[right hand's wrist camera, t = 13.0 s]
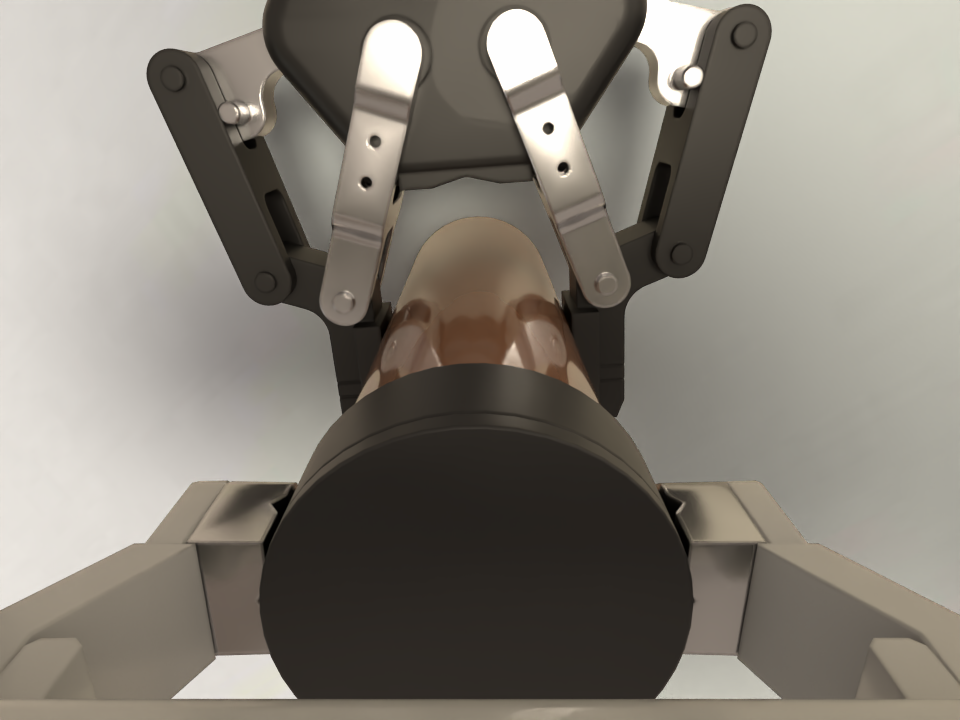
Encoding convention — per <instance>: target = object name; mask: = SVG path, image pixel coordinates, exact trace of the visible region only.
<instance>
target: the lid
mask: <svg viewBox="0 0 960 720" xmlns="http://www.w3.org/2000/svg"><path fill="white" fill-rule="evenodd" d="M259 603H260V617H261V622H262V628H263V634H264V638H265V641H266V643H267V646H268V649H269V652H270V655H271V658H272V660H273V661H274V663H275V665H276V667H277V669H278V671H279V673H280V675H281V677H282V678H283V680H284V681H285V683H286V684H287V685H288V687H289V688H290V690H291V691H292V692H293V694H294V695H295V696H296V697H297V699H655V698H656V697H657V696H658V695H659V693H660V692H661V691H662V690H663V689H664V687H665V685H666V684H667V682H668V681H669V679H670V678H671V676H672V674H673V673H674V671H675V670H676V668H677V665H678V663H679V661H680V659H681V656H682V654H683V652H684V650H685V647H686V643H687V639H688V636H689V632H690V628H691V622H692V613H693V604H694V600H693V582H692V576H691V571H690V567H689V562H688V558H687V555H686V552H685V550H684V547H683V545H682V542H681V540H680V537H679V535H678V533H677V530H676V528H675V526H674V524H673V522H672V520H671V518H670V515H669V513H668V511H667V509H666V507H665V504H664V502H663V500H662V498H661V496H660V494H659V492H658V489H657V487H656V485H655V483H654V481H653V479H652V476H651V474H650V472H649V470H648V468H647V466H646V463H645V461H644V459H643V457H642V455H641V453H640V452H639V450H638V448H637V447H636V445H635V443H634V442H633V440H632V438H631V437H630V436H629V434H628V433H627V432H626V431H625V429H624V428H623V427H622V426H621V425H620V423H619V422H618V421H617V420H616V419H615V418H614V417H613V416H612V415H611V414H610V413H609V412H608V411H606V410H605V409H604V408H603V407H602V406H601V405H600V404H599V403H597V402H596V401H594V400H593V399H591V398H590V397H588V396H587V395H586V394H584V393H583V392H581V391H580V390H578V389H576V388H574V387H572V386H570V385H568V384H566V383H564V382H562V381H560V380H558V379H555V378H553V377H550V376H547V375H544V374H542V373H539V372H536V371H532V370H528V369H523V368H519V367H514V366H510V365H500V364H490V363H464V364H453V365H446V366H439V367H433V368H429V369H426V370H422V371H419V372H415V373H411V374H408V375H406V376H403V377H401V378H399V379H396V380H394V381H391V382H389V383H387V384H385V385H383V386H381V387H380V388H378V389H376V390H374V391H373V392H371V393H369V394H368V395H366V396H364V397H363V398H362V399H361V400H359V401H358V402H357V403H355V404H354V405H353V406H352V407H350V408H349V409H348V410H347V411H346V412H345V413H344V414H343V415H342V416H341V417H340V418H339V419H338V420H337V421H336V422H335V423H334V424H333V425H332V426H331V427H330V429H329V430H328V431H327V433H326V434H325V435H324V437H323V438H322V440H321V441H320V442H319V444H318V445H317V447H316V449H315V451H314V453H313V455H312V457H311V459H310V461H309V463H308V465H307V467H306V469H305V471H304V473H303V475H302V477H301V480H300V482H299V484H298V486H297V488H296V490H295V492H294V494H293V496H292V498H291V500H290V503H289V505H288V507H287V509H286V511H285V513H284V515H283V517H282V519H281V521H280V523H279V526H278V528H277V530H276V532H275V534H274V536H273V538H272V540H271V542H270V545H269V548H268V551H267V554H266V557H265V560H264V563H263V568H262V574H261V581H260V587H259Z"/></svg>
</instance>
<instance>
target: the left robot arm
mask: <svg viewBox="0 0 960 720" xmlns="http://www.w3.org/2000/svg"><path fill="white" fill-rule="evenodd" d="M771 33H772V29H771V23H770V20H769V17H768V15H767V14H766V13H765V11H764V10H763V9H761V8H760V7H758V6H756V5H752V4H742V5H738V6H735V7H731V8H727V9H724V10H721V11H715V10H710V9H705V8H700V7H695V6H690V5H685V4H680V3H675V2H670V1H665V0H267V3H266V6H265V9H264V13H263V22H262V28H261V29H259V30H256V31H253V32H251V33H248V34H245V35H243V36H240V37H238V38H235V39H232V40H230V41H227V42H224V43H222V44H219V45H217V46H214V47H211V48H209V49H206V50H203V51H201V52H198V53H193V52H188V51H183V50H177V49H163V50H161V51H159V52H157V53H156V54H155V55H154V56H153V57H152V58H151V59H150V61H149V63H148V67H147V81H148V85H149V87H150V89H151V92H152V94H153V96H154V98H155V100H156V102H157V104H158V107H159V109H160V111H161V113H162V115H163V117H164V119H165V122H166V124H167V126H168V128H169V130H170V132H171V134H172V136H173V139H174V141H175V143H176V145H177V147H178V149H179V151H180V154H181V156H182V158H183V160H184V162H185V164H186V166H187V169H188V171H189V173H190V175H191V177H192V179H193V181H194V184H195V186H196V188H197V190H198V192H199V194H200V196H201V198H202V201H203V203H204V205H205V207H206V209H207V211H208V213H209V216H210V218H211V220H212V222H213V224H214V226H215V228H216V231H217V233H218V235H219V237H220V239H221V241H222V243H223V246H224V248H225V250H226V252H227V254H228V256H229V258H230V260H231V263H232V265H233V267H234V269H235V271H236V273H237V275H238V278H239V280H240V282H241V284H242V286H243V288H244V290H245V292H246V294H247V295H248V296H249V297H250V298H251V299H252V300H254V301H255V302H257V303H259V304H262V305H268V306H270V305H276V304H279V303H285V304H289V305H293V306H296V307H300V308H304V309H307V310H310V311H312V312H314V313H315V314H316V315H318V316H319V317H320V318H321V319H322V320H323V321H324V323H325V324H326V326H327V328H328V330H329V334H330V340H331V346H332V352H333V359H334V365H335V371H336V378H337V382H338V390H339V396H340V403H341V409H342V415H343V414H344V413H345V412H346V411H347V410H348V409H349V408H350V407H352V406H353V405H354V404H355V402H356V400H357V398H358V395H359V393H360V391H361V388H362V386H363V383H364V381H365V379H366V376H367V374H368V372H369V369H370V367H371V364H372V362H373V360H374V357H375V355H376V352H377V350H378V348H379V345H380V343H381V341H382V338H383V336H384V333H385V331H386V329H387V326H388V324H389V322H390V319H391V317H392V308H391V302H385V303H382V299H381V291H380V287H381V284H382V280H383V276H384V271H385V267H386V263H387V258H388V254H389V250H390V245H391V241H392V237H393V232H394V228H395V225H396V222H397V219H398V216H399V212H400V208H401V204H402V200H403V196H404V191H405V190H417V189H431V188H435V187H438V186H440V185H443V184H446V183H449V182H452V181H454V180H457V179H460V178H463V177H471V178H476V179H481V180H486V181H491V182H496V183H511V182H525V181H533V180H534V183H535V185H536V188H537V190H538V193H539V195H540V198H541V200H542V203H543V205H544V207H545V210H546V212H547V214H548V216H549V219H550V221H551V224H552V226H553V229H554V231H555V234H556V236H557V239H558V241H559V244H560V246H561V249H562V251H563V254H564V256H565V259H566V261H567V264H568V266H569V281H570V290H567V291H562V310H563V313H564V315H565V317H566V320H567V322H568V325H569V327H570V330H571V332H572V335H573V337H574V340H575V342H576V345H577V347H578V350H579V352H580V355H581V357H582V360H583V362H584V365H585V367H586V370H587V372H588V374H589V377H590V379H591V382H592V384H593V387H594V389H595V392H596V394H597V397H598V399H599V402H600V404H601V406H602V407H603V408H604V409H605V410H606V411H608V412H609V413H610V414H611V415H612V416H613V417H617V415H618V412H619V410H620V408H621V406H622V403H623V401H624V315H625V308H626V305H627V303H628V301H629V299H630V298H631V297H632V295H633V294H634V293H635V292H636V291H638V290H639V289H640V288H642V287H644V286H646V285H649V284H651V283H653V282H656V281H658V280H660V279H663V278H665V277H668V276H669V277H673V278H684V277H688V276H690V275H692V274H693V273H695V272H696V271H697V270H698V269H699V268H700V267H701V266H702V264H703V262H704V260H705V257H706V254H707V251H708V247H709V244H710V240H711V237H712V234H713V230H714V227H715V224H716V220H717V217H718V214H719V210H720V207H721V204H722V200H723V197H724V194H725V190H726V187H727V184H728V180H729V177H730V174H731V170H732V167H733V164H734V160H735V157H736V154H737V150H738V147H739V143H740V140H741V137H742V133H743V130H744V127H745V123H746V120H747V117H748V113H749V110H750V107H751V103H752V100H753V97H754V93H755V90H756V87H757V83H758V80H759V77H760V73H761V70H762V67H763V63H764V60H765V57H766V53H767V50H768V46H769V43H770V39H771ZM633 47H636V48H638V49H639V50H640V51H641V52H642V53H643V54H644V55H645V57H646V59H647V61H648V65H649V80H648V85H649V90H650V93H651V95H652V96H653V98H654V99H655V100H656V101H657V102H658V103H660V104H662V105H665V106H667V108H666V112H665V116H664V119H663V123H662V127H661V131H660V135H659V139H658V143H657V147H656V151H655V154H654V158H653V162H652V166H651V170H650V174H649V178H648V182H647V185H646V189H645V193H644V197H643V201H642V205H641V209H640V213H639V217H638V220H637V224H635V225H633V226H631V227H628V228H626V229H624V230H621V231H619V232H617V233H614V230H613V228H612V225H611V222H610V220H609V217H608V214H607V211H606V204H605V200H604V196H603V193H602V190H601V188H600V185H599V182H598V180H597V177H596V174H595V171H594V169H593V166H592V163H591V160H590V158H589V155H588V152H587V150H586V147H585V144H584V141H583V139H582V136H581V133H580V130H581V128H582V127H583V125H584V123H585V122H586V120H587V119H588V117H589V116H590V114H591V112H592V111H593V109H594V108H595V106H596V105H597V103H598V102H599V100H600V98H601V97H602V95H603V94H604V92H605V91H606V89H607V87H608V86H609V84H610V83H611V81H612V80H613V78H614V76H615V75H616V73H617V72H618V70H619V69H620V67H621V65H622V64H623V62H624V61H625V59H626V58H627V56H628V54H629V53H630V51H631V50H632V48H633ZM283 75H284V76H285V77H286V78H287V79H288V81H289V82H290V83H291V84H292V85H293V86H294V87H295V89H296V90H297V91H298V92H299V93H300V94H301V95H302V97H303V98H304V99H305V100H306V101H307V102H308V104H309V105H310V106H311V107H312V108H313V109H314V110H315V112H316V113H317V114H318V115H319V116H320V117H321V118H322V120H323V121H324V122H325V123H326V124H327V125H328V126H329V128H330V129H331V130H332V131H333V132H334V133H335V135H336V136H337V137H338V138H339V139H340V140H341V141H342V143H343V144H344V145H345V151H344V157H343V162H342V167H341V172H340V177H339V182H338V187H337V192H336V197H335V202H334V207H333V213H332V221H331V224H332V236H331V241H330V247H329V252H328V253H327V252H324V251H320V250H316V249H313V248H310V246H309V243H308V241H307V239H306V236H305V234H304V232H303V229H302V227H301V224H300V222H299V220H298V217H297V215H296V213H295V210H294V208H293V205H292V203H291V201H290V198H289V196H288V194H287V191H286V189H285V187H284V184H283V182H282V179H281V177H280V175H279V172H278V170H277V168H276V165H275V163H274V160H273V158H272V156H271V153H270V151H269V149H268V146H267V144H266V142H265V139H264V136H266V135H267V134H269V133H270V132H271V131H272V129H273V128H274V126H275V123H276V119H277V112H276V107H275V103H274V89H275V86H276V83H277V82H278V80H279V79H280V78H281V77H282V76H283Z"/></svg>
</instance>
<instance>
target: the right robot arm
mask: <svg viewBox="0 0 960 720" xmlns="http://www.w3.org/2000/svg"><path fill="white" fill-rule="evenodd" d="M297 486H298V484H297V483H296V482H247V481H231V482H229V481H198V482H194V483H192V484H191V485H190V486H189V487H188V489H187V490H186V491H185V492H184V494H183V495H182V496H181V498H180V499H179V500H178V501H177V503H176V504H175V505H174V507H173V508H172V509H171V511H170V512H169V513H168V514H167V516H166V517H165V518H164V520H163V521H162V522H161V523H160V525H159V526H158V527H157V529H156V530H155V531H154V533H153V534H152V535H151V536H150V538H149V539H148V540H147V542H146V543H138V544H132V545H130V546H128V547H126V548H124V549H122V550H120V551H118V552H116V553H114V554H112V555H110V556H108V557H106V558H104V559H102V560H100V561H98V562H96V563H94V564H92V565H90V566H88V567H86V568H84V569H82V570H80V571H78V572H76V573H74V574H72V575H70V576H68V577H66V578H64V579H62V580H60V581H58V582H56V583H54V584H52V585H50V586H48V587H46V588H44V589H42V590H40V591H38V592H36V593H34V594H32V595H30V596H28V597H26V598H24V599H22V600H20V601H18V602H16V603H14V604H12V605H10V606H8V607H6V608H4V609H2V610H0V720H960V615H959V614H957V613H955V612H953V611H951V610H949V609H947V608H945V607H943V606H941V605H939V604H937V603H935V602H933V601H931V600H929V599H927V598H925V597H923V596H921V595H919V594H917V593H915V592H913V591H911V590H909V589H907V588H905V587H903V586H901V585H899V584H897V583H895V582H893V581H891V580H890V579H888V578H886V577H884V576H882V575H880V574H878V573H876V572H874V571H872V570H870V569H868V568H866V567H864V566H862V565H860V564H858V563H856V562H854V561H852V560H850V559H848V558H846V557H844V556H842V555H840V554H838V553H836V552H834V551H832V550H830V549H828V548H826V547H824V546H822V545H820V544H815V543H807V542H806V541H805V539H804V538H803V537H802V535H801V534H800V533H799V531H798V530H797V529H796V527H795V526H794V525H793V523H792V522H791V521H790V520H789V518H788V517H787V516H786V514H785V513H784V512H783V510H782V509H781V508H780V506H779V505H778V504H777V502H776V501H775V500H774V499H773V497H772V496H771V495H770V493H769V492H768V491H767V489H766V488H765V487H764V485H763V484H762V483H760V482H758V481H756V480H753V481H729V482H687V483H658V484H656V487H657V489H658V492H659V494H660V496H661V498H662V500H663V502H664V504H665V507H666V509H667V511H668V513H669V515H670V518H671V520H672V522H673V524H674V526H675V528H676V530H677V533H678V535H679V537H680V540H681V542H682V545H683V547H684V550H685V552H686V555H687V558H688V562H689V567H690V571H691V576H692V582H693V600H694V604H693V613H692V622H691V628H690V632H689V636H688V639H687V643H686V647H685V650H684V652H683V654H699V655H735V656H738V657H737V658H738V659H739V660H740V661H741V662H742V663H743V664H744V665H745V666H746V667H747V668H749V669H750V670H751V671H752V672H753V673H754V674H755V675H756V676H757V677H759V678H760V679H761V680H762V681H763V682H764V683H765V684H766V685H767V686H769V687H770V688H771V689H772V690H773V691H774V692H775V693H776V694H777V695H779V696H780V697H781V698H782V699H171V698H172V697H173V696H175V695H176V694H177V693H178V692H179V691H180V690H181V689H182V688H184V687H185V686H186V685H187V684H188V683H189V682H190V681H191V680H193V679H194V678H195V677H196V676H197V675H198V674H199V673H200V672H202V671H203V670H204V669H205V668H206V667H207V666H208V665H209V664H211V663H212V662H213V661H214V660H215V659H216V657H215V656H218V655H253V654H270V652H269V649H268V646H267V643H266V641H265V638H264V634H263V628H262V622H261V617H260V603H259V587H260V581H261V574H262V568H263V563H264V560H265V557H266V554H267V551H268V548H269V545H270V542H271V540H272V538H273V536H274V534H275V532H276V530H277V528H278V526H279V523H280V521H281V519H282V517H283V515H284V513H285V511H286V509H287V507H288V505H289V503H290V500H291V498H292V496H293V494H294V492H295V490H296V488H297Z"/></svg>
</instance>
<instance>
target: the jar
mask: <svg viewBox="0 0 960 720" xmlns="http://www.w3.org/2000/svg"><path fill="white" fill-rule="evenodd" d="M464 363H490V364H500V365H510V366H514V367H519V368H523V369H528V370H532V371H536V372H539V373H542V374H544V375H547V376H550V377H553V378H555V379H558V380H560V381H562V382H564V383H566V384H568V385H570V386H572V387H574V388H576V389H578V390H580V391H581V392H583V393H584V394H586V395H587V396H588V397H590V398H591V399H593V400H594V401H596V402H597V403H599V404H600V402H599V399H598V397H597V394H596V392H595V389H594V387H593V384H592V382H591V379H590V377H589V374H588V372H587V370H586V367H585V365H584V362H583V360H582V357H581V355H580V352H579V350H578V347H577V345H576V342H575V340H574V337H573V335H572V332H571V330H570V327H569V325H568V322H567V320H566V317H565V315H564V313H563V310H562V308H561V305H560V303H559V300H558V298H557V295H556V293H555V290H554V288H553V285H552V283H551V280H550V278H549V275H548V273H547V270H546V268H545V265H544V263H543V260H542V258H541V256H540V254H539V252H538V250H537V248H536V247H535V245H534V244H533V243H532V241H531V240H530V239H529V238H528V237H527V236H526V235H525V234H524V233H523V232H521V231H520V230H519V229H517V228H516V227H514V226H513V225H511V224H509V223H506V222H504V221H501V220H498V219H495V218H489V217H468V218H463V219H459V220H456V221H453V222H451V223H449V224H447V225H445V226H443V227H442V228H440V229H439V230H437V231H436V232H435V233H434V234H433V235H432V236H431V237H429V238H428V240H427V241H426V242H425V243H424V245H423V246H422V248H421V249H420V251H419V253H418V255H417V257H416V260H415V262H414V264H413V267H412V269H411V272H410V274H409V276H408V279H407V281H406V283H405V286H404V288H403V291H402V293H401V295H400V298H399V300H398V302H397V305H396V307H395V310H394V312H393V314H392V317H391V319H390V322H389V324H388V326H387V329H386V331H385V333H384V336H383V338H382V341H381V343H380V345H379V348H378V350H377V352H376V355H375V357H374V360H373V362H372V364H371V367H370V369H369V372H368V374H367V376H366V379H365V381H364V383H363V386H362V388H361V391H360V393H359V395H358V398H357V400H356V402H355V403H357V402H358V401H359V400H361V399H362V398H363V397H364V396H366V395H368V394H369V393H371V392H373V391H374V390H376V389H378V388H380V387H381V386H383V385H385V384H387V383H389V382H391V381H394V380H396V379H399V378H401V377H403V376H406V375H408V374H411V373H415V372H419V371H422V370H426V369H429V368H433V367H439V366H446V365H453V364H464ZM600 405H601V404H600Z"/></svg>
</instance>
